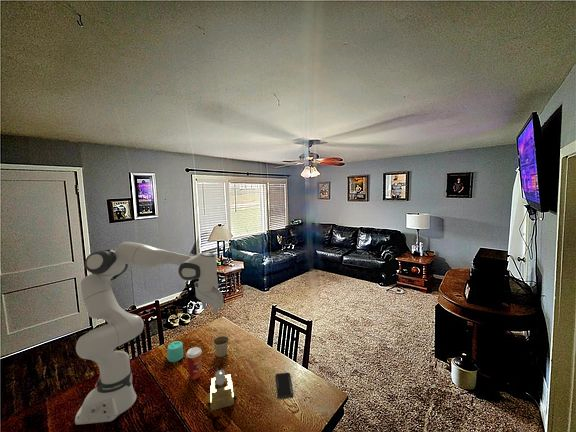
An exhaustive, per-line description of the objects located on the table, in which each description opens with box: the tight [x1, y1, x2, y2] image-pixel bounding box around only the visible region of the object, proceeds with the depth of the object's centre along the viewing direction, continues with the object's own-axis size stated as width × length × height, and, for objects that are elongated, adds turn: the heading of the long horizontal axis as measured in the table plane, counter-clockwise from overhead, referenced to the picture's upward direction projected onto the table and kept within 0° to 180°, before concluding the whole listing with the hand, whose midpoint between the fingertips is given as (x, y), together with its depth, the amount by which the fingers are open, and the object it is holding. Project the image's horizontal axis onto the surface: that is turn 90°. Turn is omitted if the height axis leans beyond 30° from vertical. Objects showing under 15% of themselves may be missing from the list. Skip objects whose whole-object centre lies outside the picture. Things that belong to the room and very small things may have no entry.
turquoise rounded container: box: [166, 340, 184, 363], centre depth 146 cm, size 8×8×8 cm
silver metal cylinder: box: [214, 369, 226, 389], centre depth 116 cm, size 4×4×9 cm
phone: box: [274, 372, 294, 399], centre depth 125 cm, size 8×1×15 cm
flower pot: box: [212, 335, 230, 358], centre depth 149 cm, size 9×9×9 cm
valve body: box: [206, 374, 237, 411], centre depth 116 cm, size 13×10×8 cm
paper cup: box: [185, 346, 203, 380], centre depth 131 cm, size 8×8×14 cm
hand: (209, 311), depth 125 cm, fingers open, 8 cm apart
